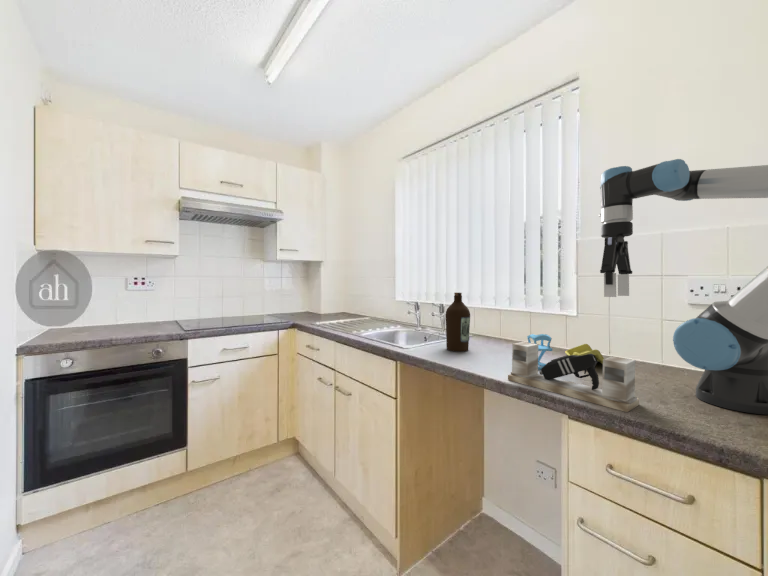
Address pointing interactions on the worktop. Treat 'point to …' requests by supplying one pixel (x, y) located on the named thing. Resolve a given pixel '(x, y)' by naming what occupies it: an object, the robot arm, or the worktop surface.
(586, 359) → the gun
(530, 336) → the chair
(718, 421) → the worktop surface
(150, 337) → the worktop surface
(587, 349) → the plastic component
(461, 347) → the olive oil
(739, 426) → the worktop surface
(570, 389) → the board
